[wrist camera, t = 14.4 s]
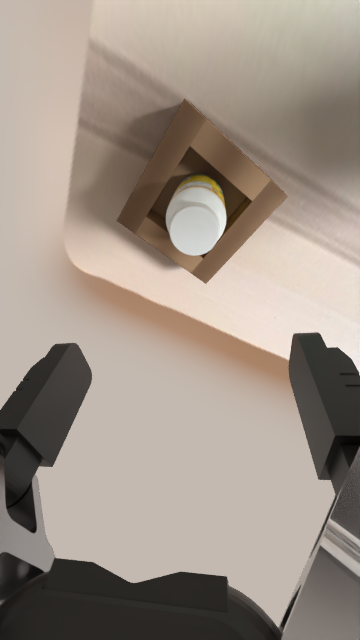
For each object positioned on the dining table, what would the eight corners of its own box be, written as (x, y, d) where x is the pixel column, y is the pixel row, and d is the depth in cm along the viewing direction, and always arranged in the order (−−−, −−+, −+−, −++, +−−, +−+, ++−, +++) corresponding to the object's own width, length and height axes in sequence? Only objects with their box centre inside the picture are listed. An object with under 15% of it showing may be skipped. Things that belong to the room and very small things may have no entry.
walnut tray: (275, 183, 29) (287, 196, 25) (206, 261, 36) (205, 283, 31) (189, 101, 26) (184, 98, 21) (130, 205, 32) (116, 220, 28)
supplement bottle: (175, 171, 27) (160, 192, 19) (227, 174, 27) (233, 197, 19) (173, 224, 30) (160, 260, 23) (220, 227, 30) (223, 265, 22)
